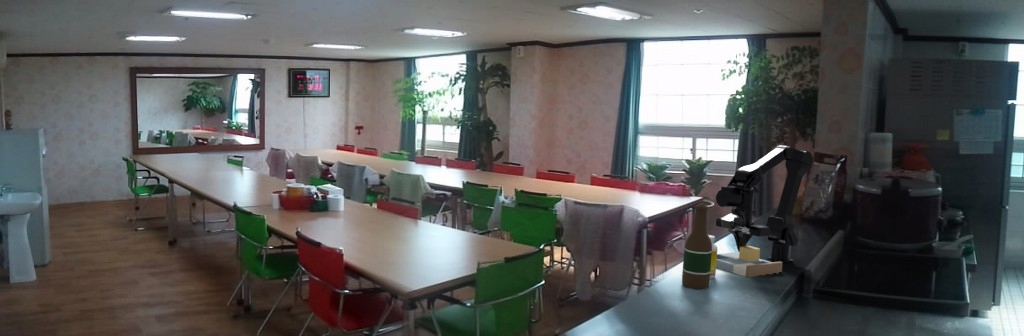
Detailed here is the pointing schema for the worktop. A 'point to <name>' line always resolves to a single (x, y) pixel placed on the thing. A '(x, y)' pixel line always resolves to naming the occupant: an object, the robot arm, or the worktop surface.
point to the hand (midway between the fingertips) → (740, 251)
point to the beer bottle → (697, 253)
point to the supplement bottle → (713, 257)
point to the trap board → (746, 265)
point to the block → (749, 253)
